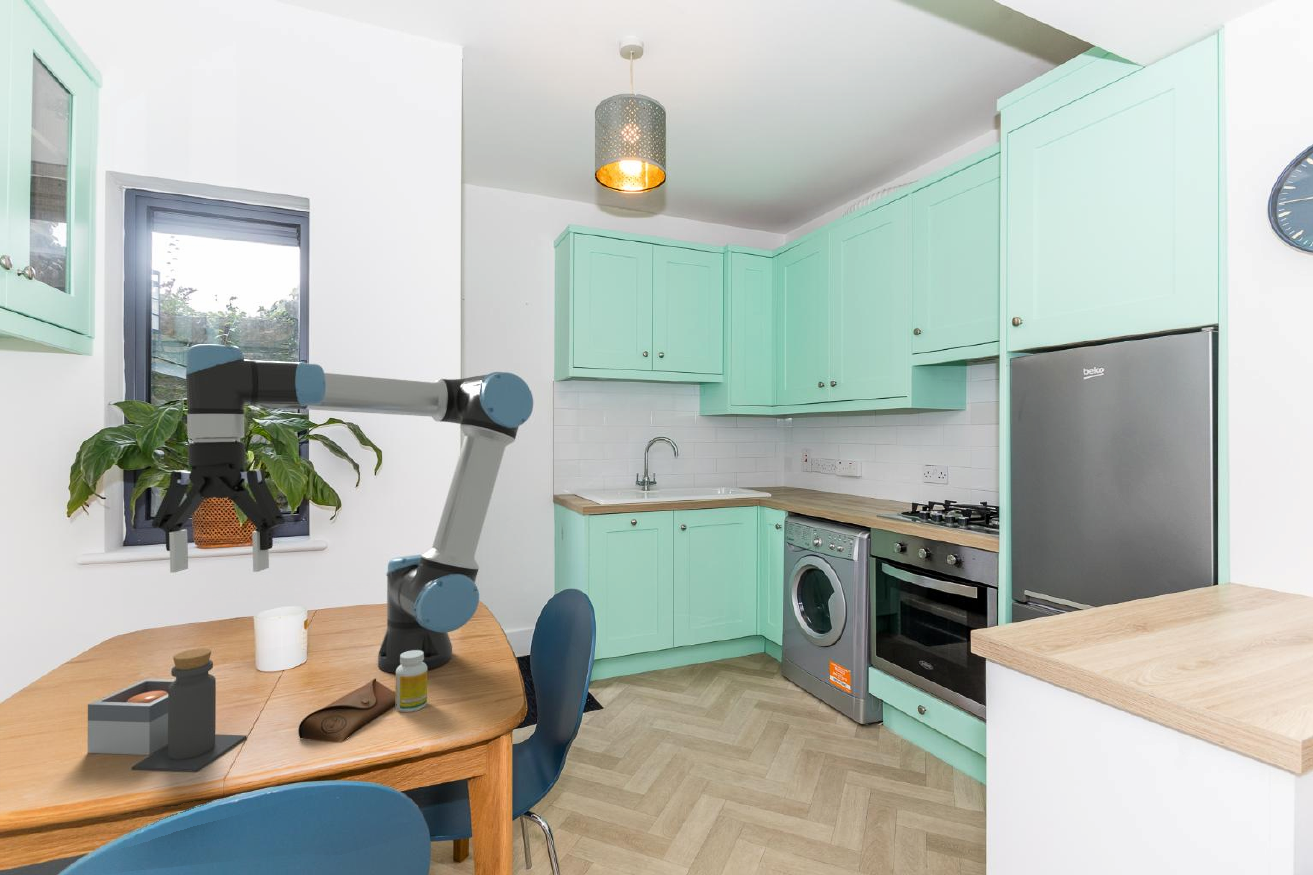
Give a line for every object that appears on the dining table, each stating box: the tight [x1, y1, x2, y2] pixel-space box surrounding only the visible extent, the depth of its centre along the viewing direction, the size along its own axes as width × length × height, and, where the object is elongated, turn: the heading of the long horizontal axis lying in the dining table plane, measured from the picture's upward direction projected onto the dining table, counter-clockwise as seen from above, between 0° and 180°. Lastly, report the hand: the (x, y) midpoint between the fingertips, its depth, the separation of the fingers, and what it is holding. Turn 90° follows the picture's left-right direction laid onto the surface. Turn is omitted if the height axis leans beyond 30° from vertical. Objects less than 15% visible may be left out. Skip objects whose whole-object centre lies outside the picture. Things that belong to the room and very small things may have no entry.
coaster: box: [131, 733, 248, 773], centre depth 93 cm, size 10×10×1 cm
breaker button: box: [127, 691, 167, 703], centre depth 98 cm, size 5×5×6 cm
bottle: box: [167, 648, 217, 760], centre depth 93 cm, size 6×6×15 cm
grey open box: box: [87, 678, 176, 756], centre depth 98 cm, size 10×10×8 cm
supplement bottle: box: [394, 650, 428, 713], centre depth 110 cm, size 5×5×10 cm
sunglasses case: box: [297, 678, 396, 744], centre depth 106 cm, size 18×7×7 cm
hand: (220, 570), depth 99 cm, fingers open, 13 cm apart
